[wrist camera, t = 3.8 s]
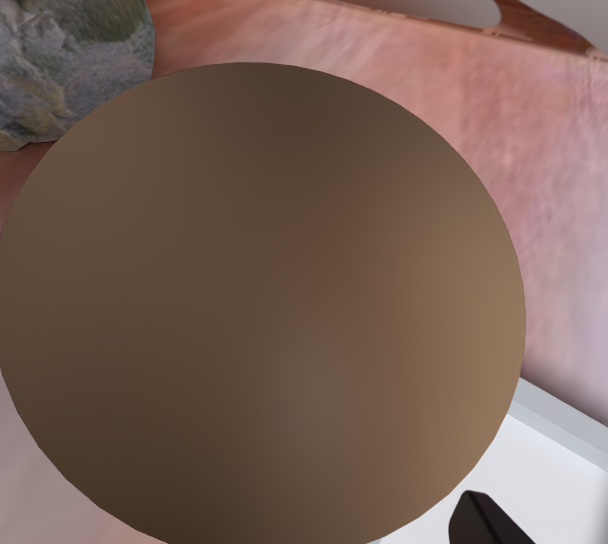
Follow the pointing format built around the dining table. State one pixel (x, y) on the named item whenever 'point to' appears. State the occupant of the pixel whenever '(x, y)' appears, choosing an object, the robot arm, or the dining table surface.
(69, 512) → the dining table surface
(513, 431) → the tray
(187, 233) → the bobbin
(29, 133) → the stone
